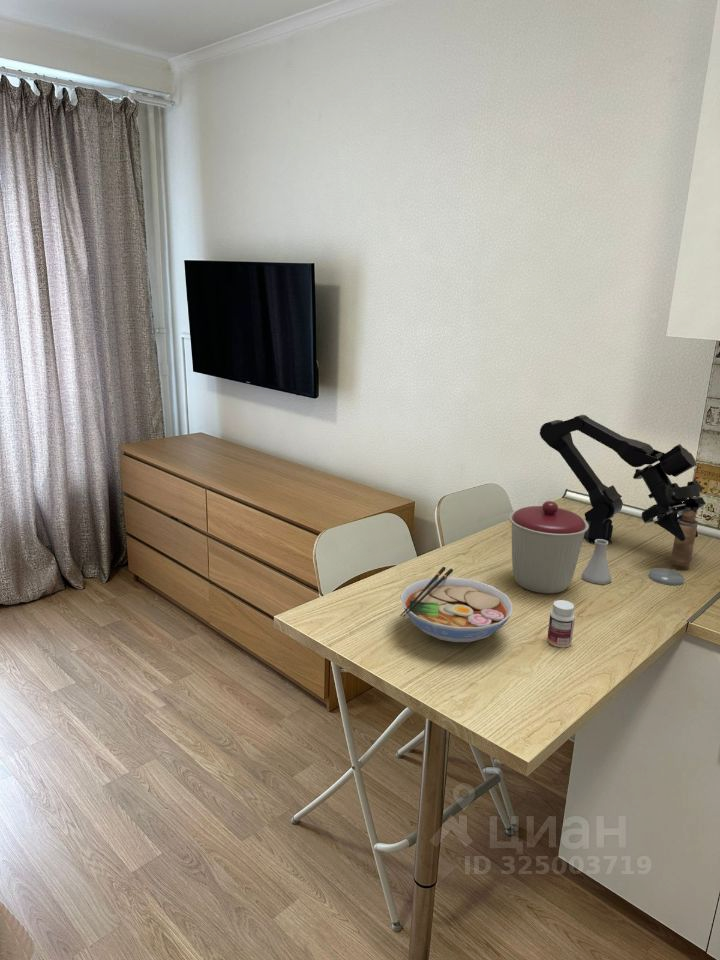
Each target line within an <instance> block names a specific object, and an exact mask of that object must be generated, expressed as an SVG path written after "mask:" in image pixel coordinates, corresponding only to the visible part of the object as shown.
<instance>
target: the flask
mask: <svg viewBox="0 0 720 960" xmlns="http://www.w3.org/2000/svg"><path fill="white" fill-rule="evenodd" d="M594 544H595V546H594V551H593V552H592V554H591V557H590V558H589V561H588V562H587V564H586V566H585V568H584V569H583V570H582V573H581V579H583V580H585V581H587V582H588V583H592V584H599V585H607V584H610V583H612V577H611V572H610V567H609V564H608V563H609V562H608V558H607V546H608V544H609V543H608V541H606V540H602V539H596V540H595V543H594Z"/></svg>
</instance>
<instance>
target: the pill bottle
mask: <svg viewBox="0 0 720 960" xmlns="http://www.w3.org/2000/svg"><path fill="white" fill-rule="evenodd" d="M574 612H575V605H574V604H573V603H572V602H571V601H568V600H562V599H561V600H560V599H557V600H554V602H553V603H552V610H551V611H550V613H549V622H548V630H547V638H546V639H547V640H546V641H547V642H548V643H549V644H551V646H552V645H553V646H554V647H557V648H568V647H570V646H571V645H572V641H573V633H574V625H575V618H576V616H575V614H574Z"/></svg>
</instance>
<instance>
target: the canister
mask: <svg viewBox="0 0 720 960" xmlns="http://www.w3.org/2000/svg"><path fill="white" fill-rule="evenodd" d="M508 519H509V522H510V523H511V558H512V559H511V561H512V563H511V564H512V575H513V577H514V580H515V582H516V583H517V584H518V585H519V586H521V587H522V588H524V589H526V590H529V591H532V592H535V593H538V594H539V593H540V594H557V593H560V592H563V591H565V590H567V588H569V586H570V585H571V583H572V580H573V578H574V574H575V572H576V567H577V564H578V561H579V557H580V552H581V550H582V549H581V548H582V544H583V541H584V538H585V537H584V533H585V532H586V531H587V530H588V528H589V525H588V523H587V522H586V519H583V518H582V517H581V516H580V515H579V514H577V513H575V512H572V511H570V510H568V509H564V508H559V506H558V504H557V503H556V502H555V501H550V500H547V501H545V502H543V503H542V505H533V506H526V507H521V508H519V509H516V510H514V511H512V512H511V513H510V514H509V515H508Z"/></svg>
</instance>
